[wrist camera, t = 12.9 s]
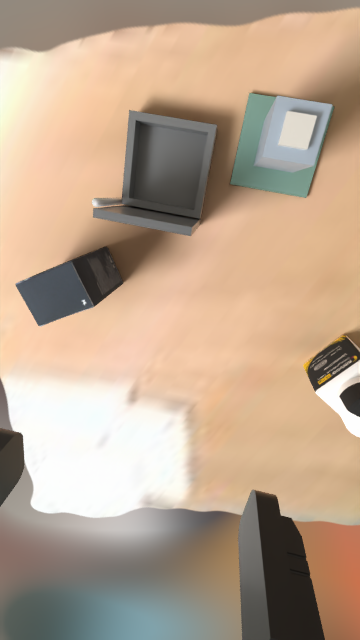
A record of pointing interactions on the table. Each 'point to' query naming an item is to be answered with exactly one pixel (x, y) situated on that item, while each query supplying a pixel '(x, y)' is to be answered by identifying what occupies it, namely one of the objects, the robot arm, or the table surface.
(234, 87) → the table surface
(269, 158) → the module
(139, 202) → the case
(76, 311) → the box
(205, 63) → the table surface
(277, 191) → the pad
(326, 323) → the table surface
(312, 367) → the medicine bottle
